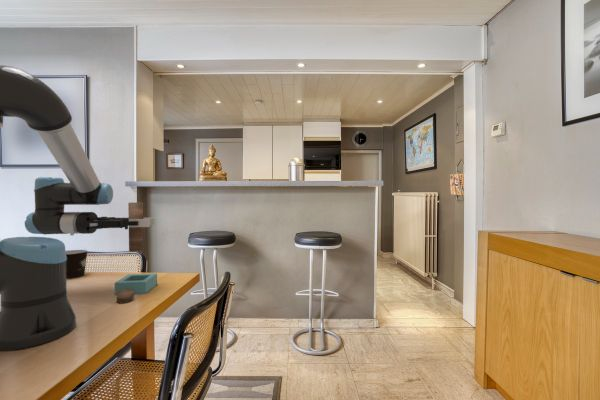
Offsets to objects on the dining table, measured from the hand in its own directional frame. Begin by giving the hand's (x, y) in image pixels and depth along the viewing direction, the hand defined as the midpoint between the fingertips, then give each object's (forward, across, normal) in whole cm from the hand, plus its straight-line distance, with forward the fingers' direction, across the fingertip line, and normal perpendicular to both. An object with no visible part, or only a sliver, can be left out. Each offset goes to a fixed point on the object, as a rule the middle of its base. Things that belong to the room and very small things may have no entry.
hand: (151, 222), depth 101 cm
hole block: (-5, 0, -24) cm, 24 cm away
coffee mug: (-38, -18, -24) cm, 49 cm away
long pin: (-5, 0, -10) cm, 11 cm away
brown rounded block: (-4, +11, -24) cm, 27 cm away
